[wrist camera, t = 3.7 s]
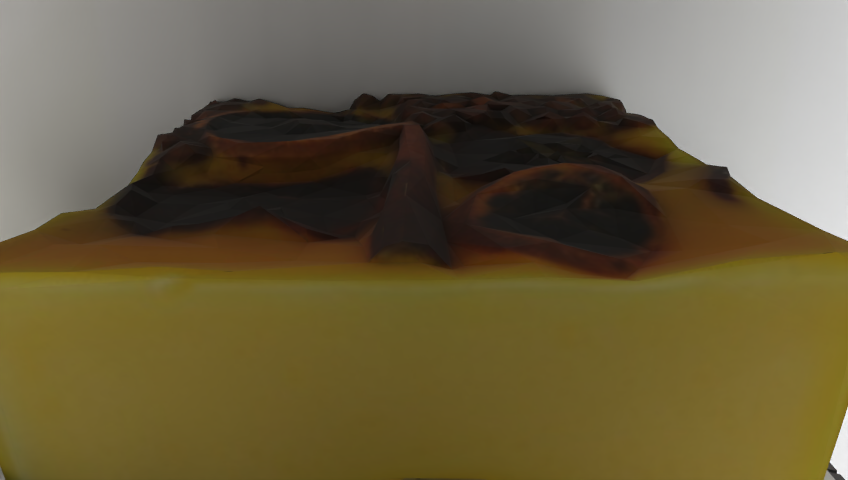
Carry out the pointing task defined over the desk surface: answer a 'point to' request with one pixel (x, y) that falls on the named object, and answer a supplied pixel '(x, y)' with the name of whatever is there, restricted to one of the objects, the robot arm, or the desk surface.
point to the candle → (423, 306)
